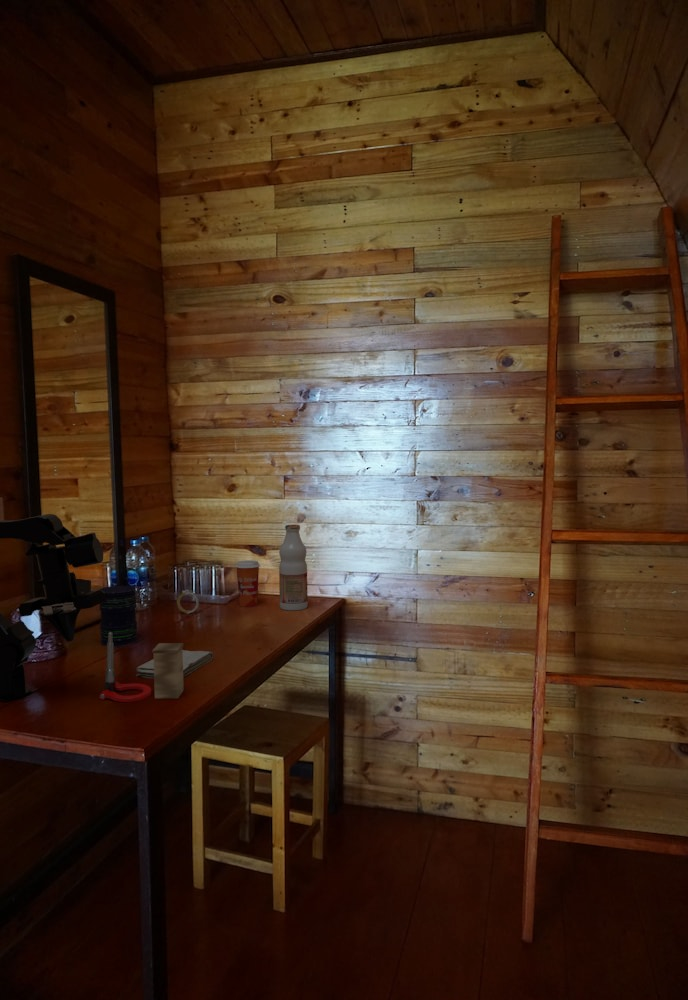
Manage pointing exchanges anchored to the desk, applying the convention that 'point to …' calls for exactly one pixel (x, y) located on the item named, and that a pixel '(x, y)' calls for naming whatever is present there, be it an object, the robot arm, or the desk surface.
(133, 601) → the storage jar
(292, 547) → the fruit juice
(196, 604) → the ring
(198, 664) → the washcloth
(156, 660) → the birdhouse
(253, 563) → the coffee cup
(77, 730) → the desk surface
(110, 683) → the tow hook
